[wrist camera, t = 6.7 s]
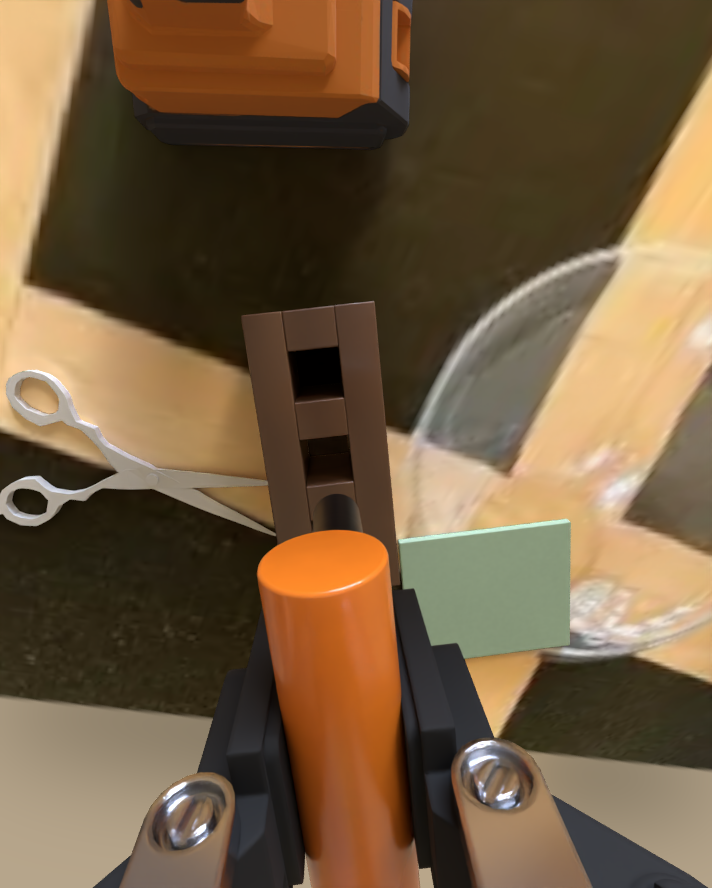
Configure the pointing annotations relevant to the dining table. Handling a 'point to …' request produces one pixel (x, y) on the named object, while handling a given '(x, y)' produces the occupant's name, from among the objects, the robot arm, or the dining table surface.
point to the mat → (493, 587)
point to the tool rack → (322, 418)
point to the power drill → (266, 70)
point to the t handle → (341, 699)
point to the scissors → (128, 467)
